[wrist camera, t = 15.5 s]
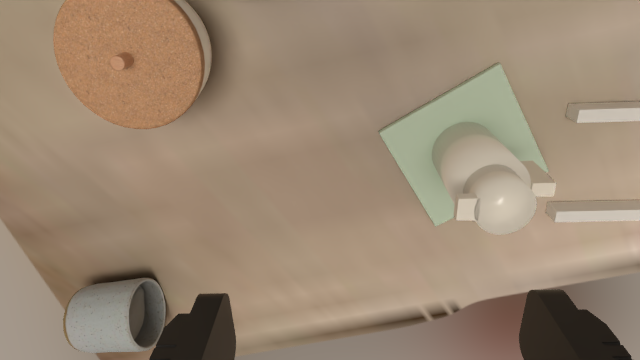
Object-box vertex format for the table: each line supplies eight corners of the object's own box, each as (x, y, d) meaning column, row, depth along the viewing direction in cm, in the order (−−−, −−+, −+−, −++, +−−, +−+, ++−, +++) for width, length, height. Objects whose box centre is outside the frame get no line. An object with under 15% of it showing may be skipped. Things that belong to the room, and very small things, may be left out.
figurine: (425, 181, 42) (453, 244, 32) (429, 123, 40) (461, 172, 30) (510, 179, 42) (564, 242, 32) (519, 120, 39) (582, 169, 30)
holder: (545, 212, 44) (554, 222, 42) (568, 103, 39) (579, 109, 37) (659, 209, 44) (673, 219, 42) (696, 99, 39) (714, 105, 37)
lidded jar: (105, -39, 35) (33, -43, 27) (234, -5, 36) (203, 1, 28) (102, 87, 40) (40, 117, 31) (217, 114, 41) (186, 151, 32)
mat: (497, 62, 38) (500, 63, 37) (546, 168, 42) (548, 171, 42) (378, 131, 41) (378, 133, 40) (434, 223, 45) (435, 226, 45)
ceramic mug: (84, 272, 49) (43, 322, 42) (151, 263, 48) (121, 312, 42) (120, 339, 54) (89, 394, 47) (182, 331, 53) (159, 386, 46)
